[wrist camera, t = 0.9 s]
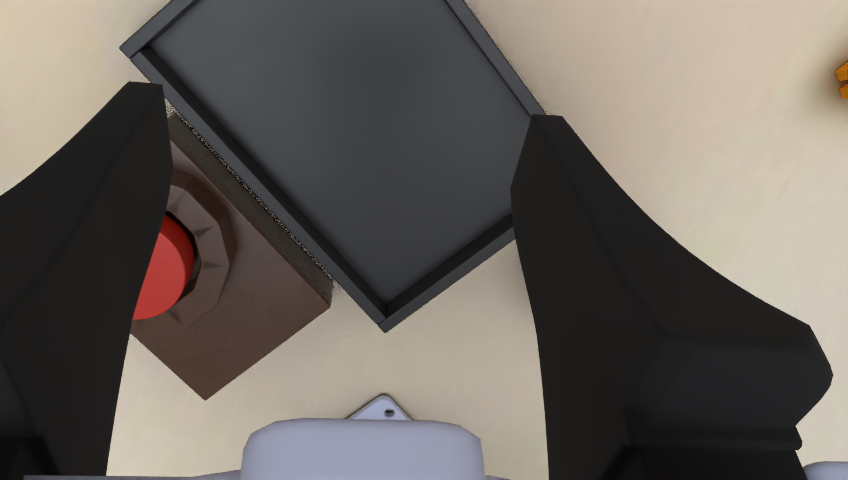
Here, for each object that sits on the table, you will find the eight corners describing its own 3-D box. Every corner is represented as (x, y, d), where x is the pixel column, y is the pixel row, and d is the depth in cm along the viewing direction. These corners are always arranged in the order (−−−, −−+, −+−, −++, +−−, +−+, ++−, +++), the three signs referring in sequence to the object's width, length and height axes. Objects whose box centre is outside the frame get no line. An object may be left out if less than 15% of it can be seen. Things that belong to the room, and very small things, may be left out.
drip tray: (582, 166, 36) (595, 181, 34) (384, 312, 38) (385, 334, 36) (350, -152, 30) (348, -159, 28) (134, 40, 33) (117, 47, 30)
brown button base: (333, 282, 38) (328, 325, 33) (215, 371, 39) (197, 423, 35) (172, 109, 34) (143, 133, 30) (48, 215, 35) (5, 252, 31)
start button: (216, 261, 32) (208, 278, 31) (142, 319, 33) (131, 339, 31) (140, 185, 31) (128, 199, 29) (66, 248, 32) (49, 265, 30)
